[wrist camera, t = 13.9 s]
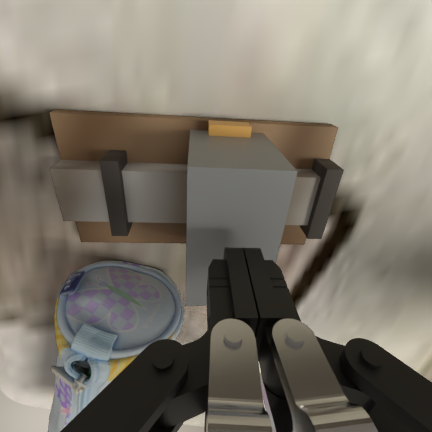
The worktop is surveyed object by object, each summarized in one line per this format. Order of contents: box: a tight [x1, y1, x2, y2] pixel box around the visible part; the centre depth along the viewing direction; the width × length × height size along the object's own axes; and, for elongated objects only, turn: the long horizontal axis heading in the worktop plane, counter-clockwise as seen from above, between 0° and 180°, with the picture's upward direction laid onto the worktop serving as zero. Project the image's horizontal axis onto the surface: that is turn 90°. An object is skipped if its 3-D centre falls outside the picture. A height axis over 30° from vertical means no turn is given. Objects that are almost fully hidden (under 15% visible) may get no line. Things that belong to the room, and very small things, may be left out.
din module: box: [186, 120, 298, 306], centre depth 15 cm, size 4×9×6 cm, turn 176°
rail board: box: [49, 110, 344, 245], centre depth 17 cm, size 17×9×3 cm, turn 86°
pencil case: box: [48, 261, 184, 432], centre depth 23 cm, size 21×9×10 cm, turn 161°
